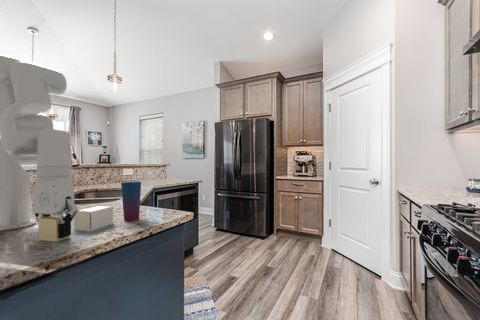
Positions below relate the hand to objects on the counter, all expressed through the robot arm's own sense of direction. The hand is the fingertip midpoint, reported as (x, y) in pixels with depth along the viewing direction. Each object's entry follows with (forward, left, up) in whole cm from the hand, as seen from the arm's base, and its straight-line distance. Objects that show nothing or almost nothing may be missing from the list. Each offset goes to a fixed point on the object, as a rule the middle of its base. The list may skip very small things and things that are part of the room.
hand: (54, 235), depth 64 cm
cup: (+6, +23, -2) cm, 24 cm away
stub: (0, 0, -1) cm, 1 cm away
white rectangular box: (0, +13, -1) cm, 13 cm away
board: (0, +8, -2) cm, 8 cm away
